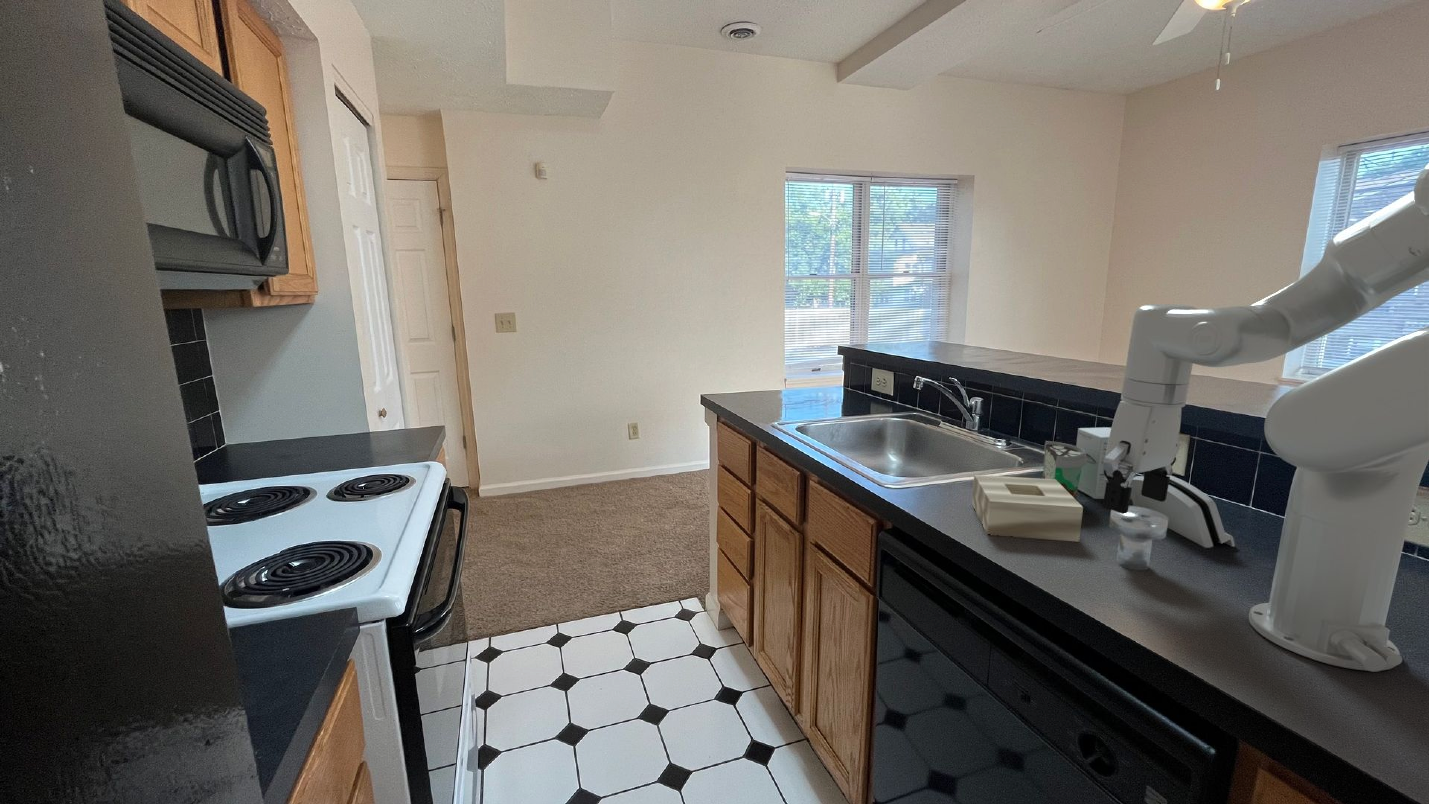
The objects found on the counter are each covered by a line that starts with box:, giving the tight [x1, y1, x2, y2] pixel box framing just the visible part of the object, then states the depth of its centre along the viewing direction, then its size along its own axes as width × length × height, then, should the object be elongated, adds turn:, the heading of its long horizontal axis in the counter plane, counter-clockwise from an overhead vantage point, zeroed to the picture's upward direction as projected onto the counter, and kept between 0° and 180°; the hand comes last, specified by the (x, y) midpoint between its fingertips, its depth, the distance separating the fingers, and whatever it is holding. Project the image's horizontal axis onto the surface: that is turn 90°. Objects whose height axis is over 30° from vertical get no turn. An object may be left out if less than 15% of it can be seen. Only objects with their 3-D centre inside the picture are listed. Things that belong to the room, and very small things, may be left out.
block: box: [971, 474, 1084, 543], centre depth 106 cm, size 14×14×6 cm
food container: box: [1042, 440, 1087, 500], centre depth 116 cm, size 12×6×10 cm, turn 161°
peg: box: [1108, 505, 1169, 571], centre depth 90 cm, size 7×7×8 cm
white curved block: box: [1130, 473, 1236, 549], centre depth 103 cm, size 17×5×10 cm, turn 1°
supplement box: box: [1075, 426, 1132, 500], centre depth 119 cm, size 7×7×13 cm
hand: (1134, 504), depth 89 cm, fingers open, 9 cm apart
